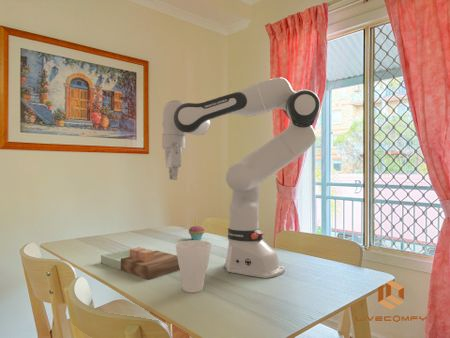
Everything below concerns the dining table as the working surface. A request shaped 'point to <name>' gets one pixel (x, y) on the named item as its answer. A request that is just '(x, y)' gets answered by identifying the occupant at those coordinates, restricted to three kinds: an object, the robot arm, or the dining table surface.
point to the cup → (193, 263)
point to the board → (151, 265)
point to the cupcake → (196, 232)
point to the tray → (114, 258)
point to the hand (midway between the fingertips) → (173, 179)
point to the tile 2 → (146, 255)
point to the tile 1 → (135, 252)
